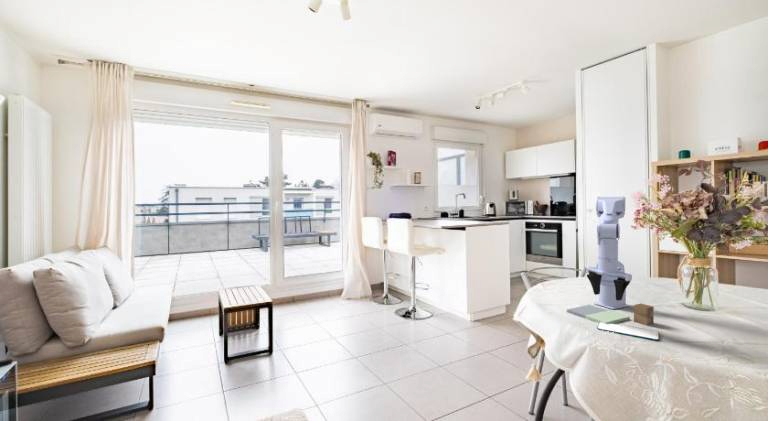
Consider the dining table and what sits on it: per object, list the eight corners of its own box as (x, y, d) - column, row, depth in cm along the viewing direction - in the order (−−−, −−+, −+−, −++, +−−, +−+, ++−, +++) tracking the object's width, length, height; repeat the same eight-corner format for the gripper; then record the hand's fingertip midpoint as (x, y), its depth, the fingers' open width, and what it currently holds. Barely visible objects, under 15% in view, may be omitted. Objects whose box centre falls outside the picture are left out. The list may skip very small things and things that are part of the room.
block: (640, 320, 120) (641, 303, 120) (653, 323, 117) (653, 306, 117) (633, 321, 119) (634, 305, 119) (646, 325, 115) (646, 308, 115)
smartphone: (596, 331, 113) (658, 342, 102) (596, 328, 112) (658, 339, 102) (599, 323, 119) (658, 334, 109) (599, 321, 119) (658, 331, 109)
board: (589, 307, 135) (589, 304, 135) (629, 319, 121) (629, 316, 121) (566, 312, 130) (566, 309, 130) (605, 325, 116) (605, 322, 116)
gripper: (580, 255, 122) (580, 293, 122) (622, 262, 108) (622, 304, 109) (593, 254, 125) (593, 290, 125) (636, 260, 111) (635, 301, 112)
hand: (607, 296), depth 117 cm, fingers open, 7 cm apart
